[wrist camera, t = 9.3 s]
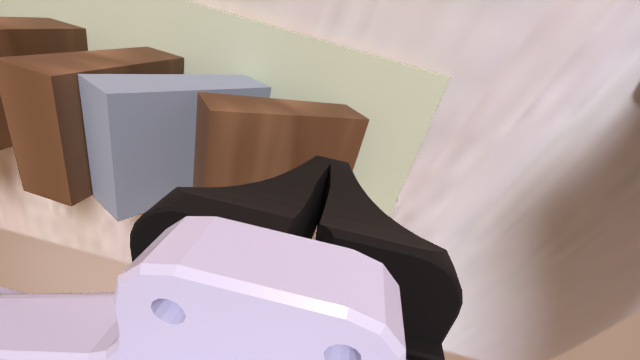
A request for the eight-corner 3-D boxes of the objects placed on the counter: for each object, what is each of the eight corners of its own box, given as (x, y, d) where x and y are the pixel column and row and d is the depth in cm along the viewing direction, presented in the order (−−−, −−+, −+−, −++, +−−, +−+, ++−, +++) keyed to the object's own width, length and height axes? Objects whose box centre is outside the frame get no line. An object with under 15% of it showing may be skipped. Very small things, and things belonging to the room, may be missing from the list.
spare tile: (271, 87, 13) (106, 94, 8) (257, 174, 15) (117, 221, 10) (243, 74, 14) (77, 73, 9) (233, 159, 16) (93, 196, 11)
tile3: (183, 57, 14) (50, 76, 8) (180, 144, 16) (71, 206, 10) (147, 46, 14) (-9, 57, 9) (148, 134, 16) (23, 190, 11)
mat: (448, 76, 13) (450, 77, 13) (378, 237, 17) (378, 240, 17) (-99, -82, 14) (-108, -84, 13) (-38, 112, 18) (-45, 114, 18)
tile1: (369, 119, 13) (210, 110, 9) (341, 205, 15) (201, 225, 11) (345, 104, 14) (197, 91, 11) (322, 186, 16) (192, 197, 13)
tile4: (85, 28, 14) (-103, 30, 9) (95, 118, 16) (-52, 167, 11) (49, 17, 14) (-163, 12, 9) (62, 108, 16) (-101, 152, 11)
